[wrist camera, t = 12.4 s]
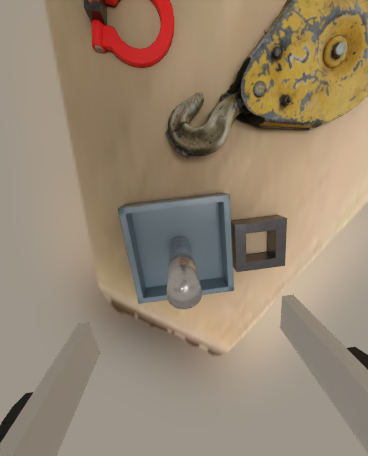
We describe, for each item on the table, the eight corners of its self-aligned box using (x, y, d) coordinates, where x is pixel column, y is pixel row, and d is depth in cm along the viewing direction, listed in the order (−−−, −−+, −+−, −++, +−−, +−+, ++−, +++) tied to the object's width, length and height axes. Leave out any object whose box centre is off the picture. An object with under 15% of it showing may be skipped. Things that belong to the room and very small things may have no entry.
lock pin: (168, 237, 27) (164, 280, 15) (189, 234, 27) (200, 276, 16) (171, 256, 28) (169, 311, 16) (191, 254, 28) (203, 306, 16)
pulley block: (134, 57, 16) (455, -119, 15) (140, 80, 22) (377, -47, 20) (193, 193, 22) (428, 79, 20) (187, 185, 27) (373, 94, 26)
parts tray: (125, 204, 26) (117, 208, 23) (222, 192, 26) (229, 194, 23) (142, 289, 30) (138, 303, 27) (227, 278, 30) (233, 290, 27)
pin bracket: (229, 220, 28) (234, 224, 25) (277, 214, 28) (286, 218, 25) (231, 264, 30) (236, 272, 27) (275, 258, 30) (284, 265, 27)
